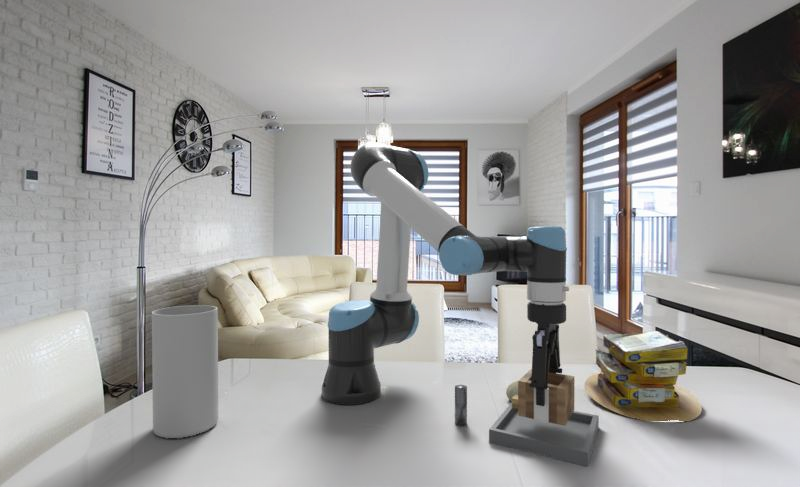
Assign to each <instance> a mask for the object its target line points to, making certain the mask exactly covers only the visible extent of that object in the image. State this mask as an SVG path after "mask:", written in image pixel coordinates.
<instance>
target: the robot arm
mask: <svg viewBox="0 0 800 487" xmlns="http://www.w3.org/2000/svg"><path fill="white" fill-rule="evenodd" d="M350 174H351V177H352V179H353V181H354V182H355V184H356V185H357V187H359V188H360V190H362V191H363V192H365V194H366V195H368V196H369V197H375V198H377V200H378V201H379V202H380V217H379V218H380V219H379V220H380V221H379V235H378V237H379V238H378V253H377V269H376V270H377V271H376V286H375V290H374V291H372V292H371V293H370V296H369V297H370V298H369V300H366V299H357V300H356V299H355V300H348V301H343V302H340V303H337V304H335V305H334V306H332V307H331V309H330V310H329V311H328V312H329V313H328V322H327V328H328V365H327V369H326V372H325V375H324V378H323V382H322V384H321V385H322V386H321V398H322V399H323V398H324V399H325V401H326V400H327V401H326V402H328V401H329V402H328V403H331V404H335V403H336V405H343V404H346V406H347V405H361V404H366V403H369V401H370V402H372V401H374V399H375V400H376V399H378V398H379V397H380V396H381V393H382V389H381V388H382V385H381V381H380V379H379V376H378V372H377V369H376V366H375V349H378V348H381V347H386V346H390V345H393V344H401V343H402V342H404V341H406V340H409V339H410V338H412V337H413V336H414V334H415V333H416V331H417V330H418V326H419V322H420V316H419V315H420V314H419V311H418V310H417V306H416V305H415V304H414V302H412V300H413V296H412V295H411V294H410V293H409V292H408V279H409V278H408V277H409V262H410V247H411V232H412V230H413V231H414V232H415V233H416V234H417V235H419V237H421V238H422V239H423V240H424V241H425V242H426V243H427V244H429V246H431V247H432V248H433V249H434V250H435V251H436V252H437V253H438V259H439V262H440V263H441V266H442V267H441V268H442V269H444V271H445V272H446V273H448V274H451V275H453V276H463V277H464V276H471V275H477V274H484V273H485V274H486V273H495V272H521V273H523V272H526V276H527V277H526V278H527V280H526V281H527V282H526V288H527V289H526V299H527V300H528V303H527V304H526V309H527V310H526V311H527V312H526V314H527V316H526V318H527V320H528V321H529V322H531V323H535V324H537V328H536V330H534V334H533V335H532V360H531V369H532V376H531V383H529V386H530V387H534V420H537V421H542V422H547V423H548V422H549V388H548V375H549V372H551V373H557V374H563V368H561V354H560V352H561V350H560V336H559V335H560V331H559V330H560V324H564V323H565V322H566V321H567V305H566V303H564V302H566V301H567V293H566V292H569V291H570V287H569V286H566V284H567V283H566V282H567V250H568V248H567V241H566V240H567V239H566V231H565V229H564V228H563V227H561V226H556V225H555V226H552V225H551V226H531V227H528V228H527V231H526V235H524V236H497V235H493V236H491V235H490V236H478V235H476V234H474V233H473V232H472V231H471V230H469V229H468V228H466V227H465V226H464V225H462V224H461V223H460V222H459V221H457V219H455V218H454V217H453V216H452V215H450V214H449V213H448V212H447V211H445V210H444V209H443V208H442V207H441V206H439V205H438V204H437V203H436V202H435V201H433V200H432V199H431V198H429V197H428V196H427V195H426V194H425V193H423V192H422V190H424V188H425V187H424V186H427V183H428V181H429V167H428V164H427V161H426V159H425V158H424V157H423V156H422V155H421V154H420V153H419V152H418V151H417V152H416V151H414V150H411V149H410V148H403V147H399V146H395V145H388V144H384V143H379V142H371V143H367V144H364V145H363V146H360V147H359V148H358V149H357V150H356V151H355V152H354V155H353V156H352V159H351V161H350ZM411 229H412V230H411ZM539 381H541V382H539ZM324 399H323V400H324Z"/></svg>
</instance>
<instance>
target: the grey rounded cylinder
mask: <svg viewBox="0 0 800 487" xmlns="http://www.w3.org/2000/svg"><path fill="white" fill-rule="evenodd" d="M454 424H455V425H456V426H458V427H463V426H464V427H465V426H467V424H468V386H467V385H465V384H456V385H454Z"/></svg>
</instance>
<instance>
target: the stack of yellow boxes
mask: <svg viewBox="0 0 800 487" xmlns="http://www.w3.org/2000/svg"><path fill="white" fill-rule="evenodd" d="M602 340H603V347H605V348H606V349H608V352H605V351H601V350H597V349H596V348H595V349H594V350H595V356H596V357H595V364H596V365H597V366H598V368H599V369H600V371H599V372H597V373H593V374H591V375H590V376H589V377H587V378H586V380H585V382H584V389H585V391H586V393H587V395H589V397H590V398H591V399H592V400H594V402H596V403H597V404H599V405H601V406H602V407H604V408H606V409H607V410H610V411H612V412H614V413H617V414H619V415H622V416H625V417H628V418H632V419H635V418H637V419H636V420H639V419H640V421H643V420H646V421H645V422H649V421H668V420H669V421H670V420H679V421H687V422H691V421H692V420H693V421H694V419H696V418H698V417H699V416H700V415H701V413H702V410H703V407H702V404H701V402H700V401H699V400H698V398H697V397H696V396H695V395H694V394H693V393H691V392H690V391H689V390H687V389H686V388H684V387H682V386H681V385H678V384H677V381H678V377H679V376H680V375H686V372H687V362H686V361H684V360H687V358H688V352H689V351H688V350H689V349H688V346H686V344H685V341H683V340H682V341H677V340H675V339H673V338H671V337H670V336H667V335H666V334H664V333H661V332H660V331H658V330H653V331H648V332H643V333H640V332H637V333H636V332H634V333H624V334H622V333H616V334H604V335H603V339H602Z"/></svg>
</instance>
